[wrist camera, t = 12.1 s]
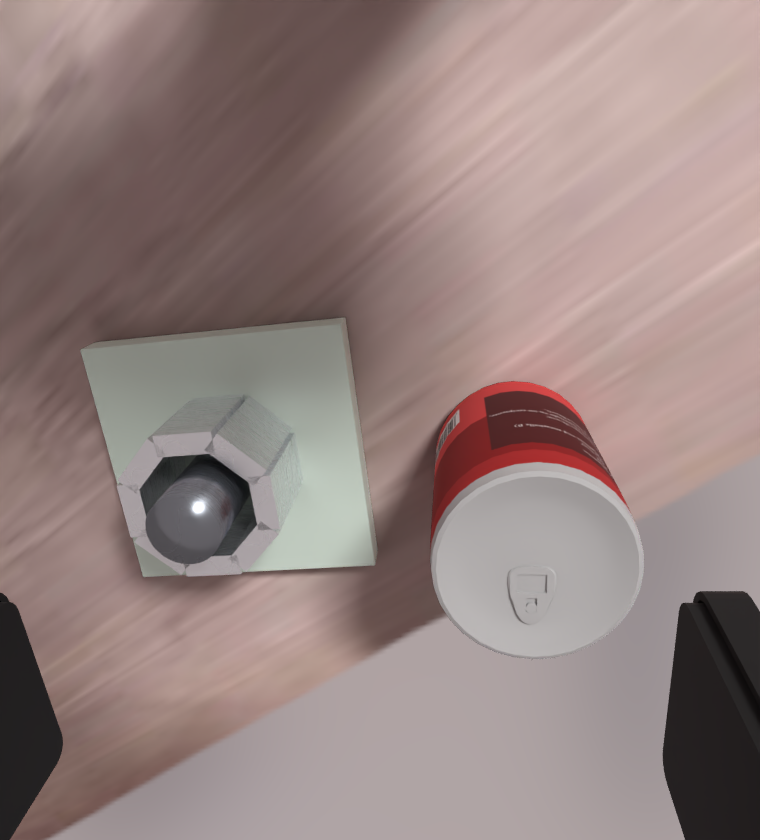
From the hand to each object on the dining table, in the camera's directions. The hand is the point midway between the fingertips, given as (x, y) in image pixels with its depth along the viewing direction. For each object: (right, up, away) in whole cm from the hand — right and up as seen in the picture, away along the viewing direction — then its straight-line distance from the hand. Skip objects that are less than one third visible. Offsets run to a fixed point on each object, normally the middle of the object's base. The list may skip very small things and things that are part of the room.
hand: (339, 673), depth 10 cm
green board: (-7, +2, +26) cm, 27 cm away
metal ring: (-7, +2, +25) cm, 26 cm away
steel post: (-7, +1, +25) cm, 26 cm away
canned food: (+7, +2, +25) cm, 26 cm away
